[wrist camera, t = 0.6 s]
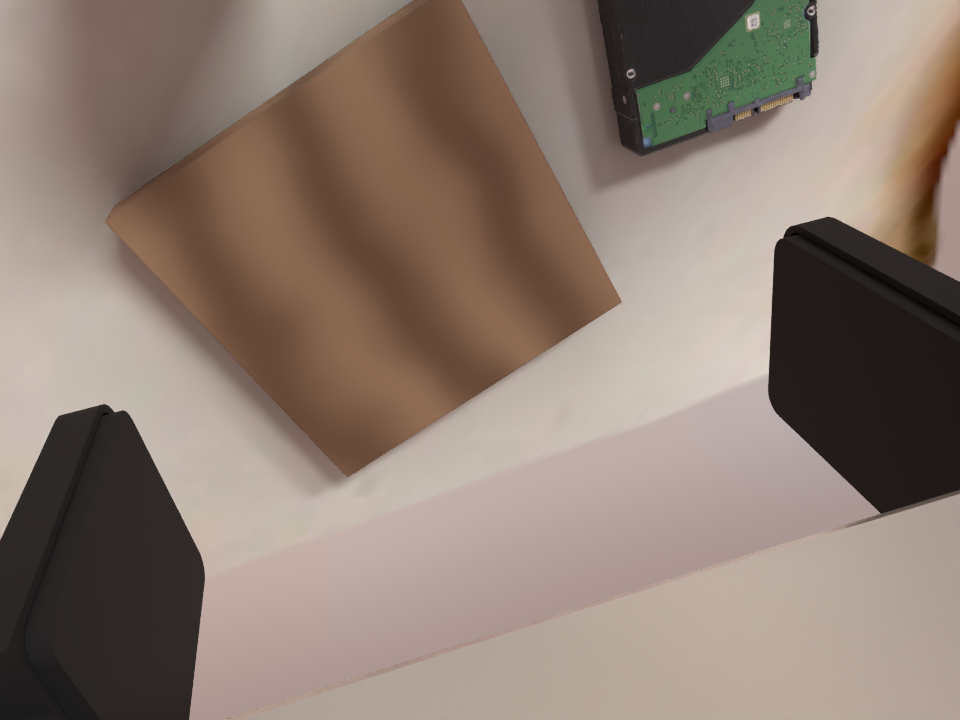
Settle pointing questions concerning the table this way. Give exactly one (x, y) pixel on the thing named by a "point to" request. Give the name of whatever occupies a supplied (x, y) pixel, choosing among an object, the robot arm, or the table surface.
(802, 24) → the disk drive
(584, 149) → the table surface
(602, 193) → the table surface
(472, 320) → the walnut stand
